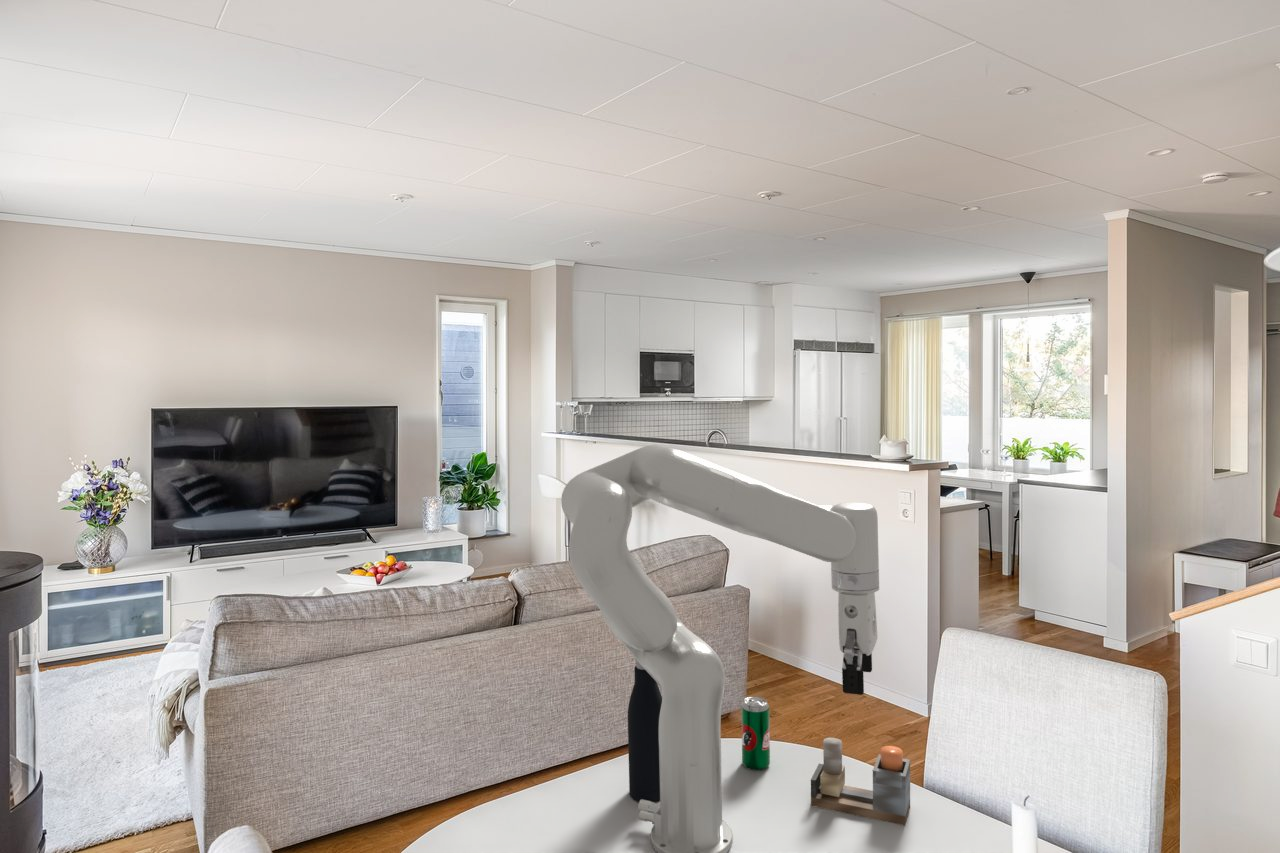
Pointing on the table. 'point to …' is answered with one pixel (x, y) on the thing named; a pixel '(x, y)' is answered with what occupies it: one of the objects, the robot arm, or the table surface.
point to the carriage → (832, 768)
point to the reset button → (891, 758)
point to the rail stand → (870, 795)
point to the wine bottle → (644, 737)
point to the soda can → (755, 733)
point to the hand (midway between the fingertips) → (857, 681)
